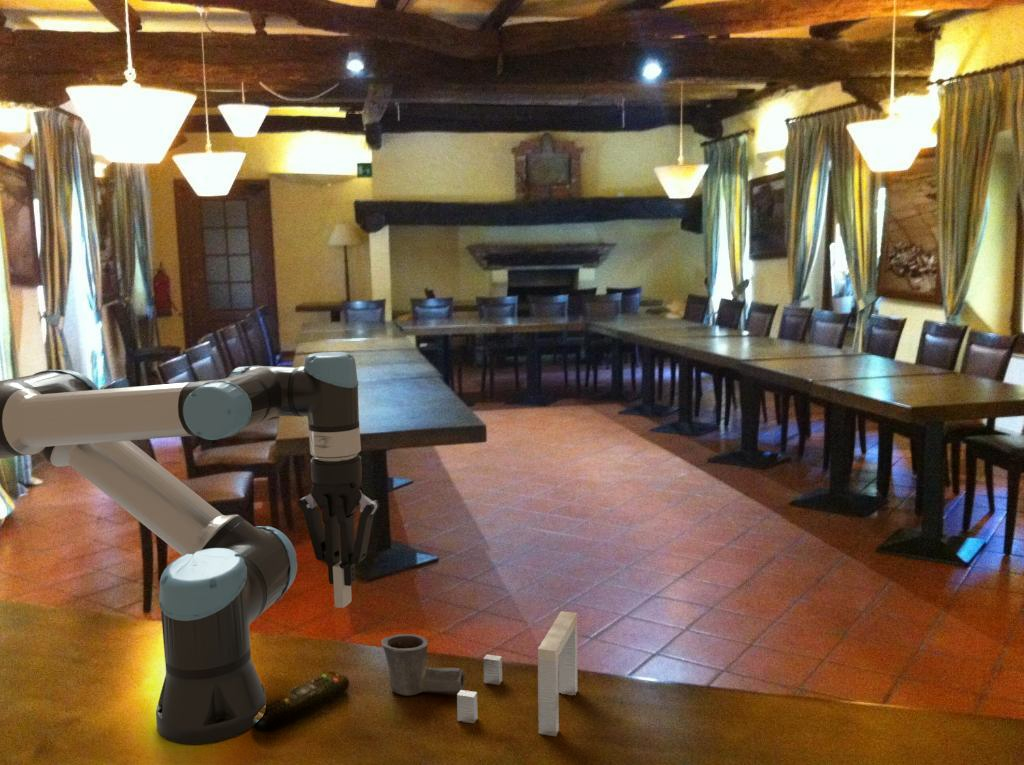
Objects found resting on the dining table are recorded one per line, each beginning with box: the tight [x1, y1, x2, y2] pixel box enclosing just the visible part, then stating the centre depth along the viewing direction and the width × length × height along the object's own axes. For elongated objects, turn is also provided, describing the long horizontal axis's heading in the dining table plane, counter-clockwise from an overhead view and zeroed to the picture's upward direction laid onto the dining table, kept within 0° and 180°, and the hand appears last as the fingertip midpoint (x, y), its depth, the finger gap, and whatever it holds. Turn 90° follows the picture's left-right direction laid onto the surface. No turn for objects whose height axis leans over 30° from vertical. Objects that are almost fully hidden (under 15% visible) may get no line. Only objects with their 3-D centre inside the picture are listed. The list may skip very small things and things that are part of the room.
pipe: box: [380, 633, 466, 697], centre depth 134 cm, size 6×13×8 cm, turn 78°
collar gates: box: [456, 610, 578, 737], centre depth 129 cm, size 14×13×12 cm
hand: (343, 604), depth 136 cm, fingers closed
